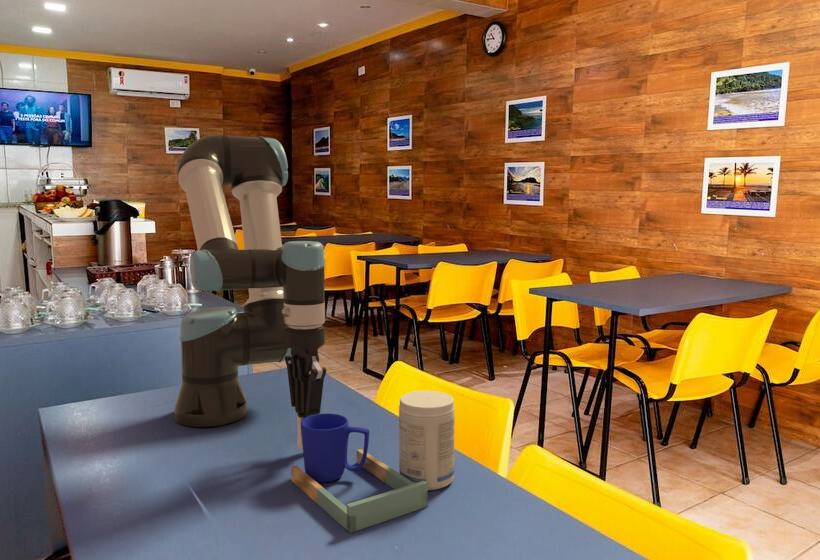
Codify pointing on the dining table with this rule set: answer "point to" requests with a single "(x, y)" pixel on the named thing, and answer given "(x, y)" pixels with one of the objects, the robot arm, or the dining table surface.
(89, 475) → the dining table surface
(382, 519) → the pocket
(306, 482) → the flange rails
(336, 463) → the mug
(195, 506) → the dining table surface
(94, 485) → the dining table surface
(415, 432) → the supplement tub
